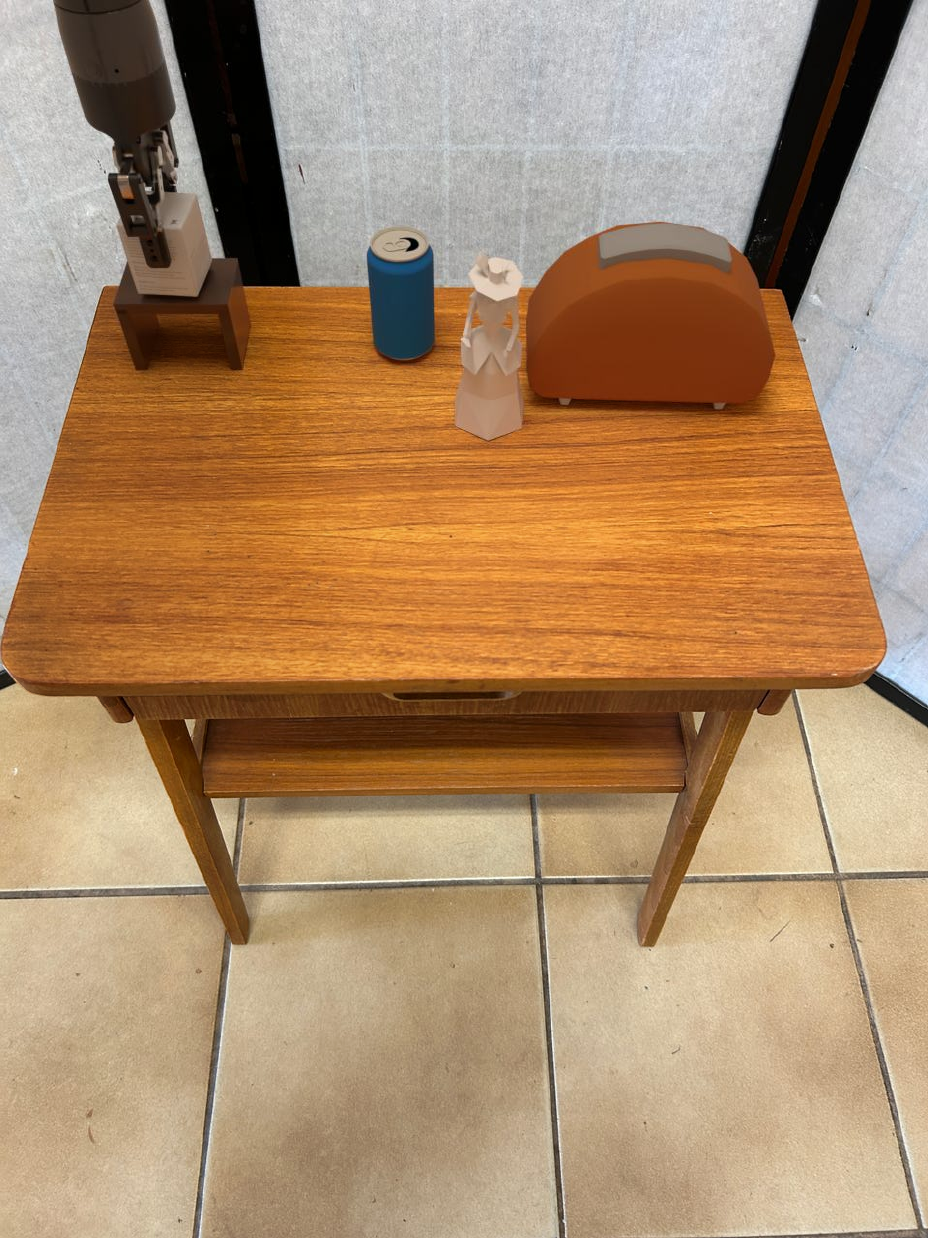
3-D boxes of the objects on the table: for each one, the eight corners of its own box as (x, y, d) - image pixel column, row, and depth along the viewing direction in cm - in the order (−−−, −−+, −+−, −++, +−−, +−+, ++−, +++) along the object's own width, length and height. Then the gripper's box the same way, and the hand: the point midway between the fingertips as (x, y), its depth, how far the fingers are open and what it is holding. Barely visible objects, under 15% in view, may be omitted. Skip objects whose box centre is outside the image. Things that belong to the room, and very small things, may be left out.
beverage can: (442, 358, 99) (441, 255, 90) (382, 370, 98) (375, 267, 88) (425, 320, 103) (422, 218, 93) (367, 331, 102) (358, 229, 92)
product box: (214, 261, 95) (198, 192, 89) (198, 299, 91) (181, 228, 85) (154, 257, 95) (134, 187, 89) (135, 294, 92) (114, 224, 86)
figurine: (455, 442, 92) (456, 280, 78) (453, 386, 97) (453, 223, 82) (528, 440, 92) (542, 279, 78) (521, 384, 97) (534, 222, 82)
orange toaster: (745, 356, 100) (792, 208, 86) (758, 415, 95) (809, 267, 81) (523, 350, 100) (534, 201, 87) (523, 409, 95) (535, 260, 81)
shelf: (242, 369, 98) (227, 303, 92) (135, 370, 98) (112, 303, 91) (251, 323, 102) (237, 257, 96) (148, 323, 102) (127, 257, 96)
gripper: (147, 100, 73) (194, 290, 86) (177, 17, 81) (216, 202, 95) (48, 100, 72) (111, 290, 86) (88, 17, 81) (140, 201, 94)
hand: (166, 243), depth 90 cm, fingers closed on product box, 6 cm apart
